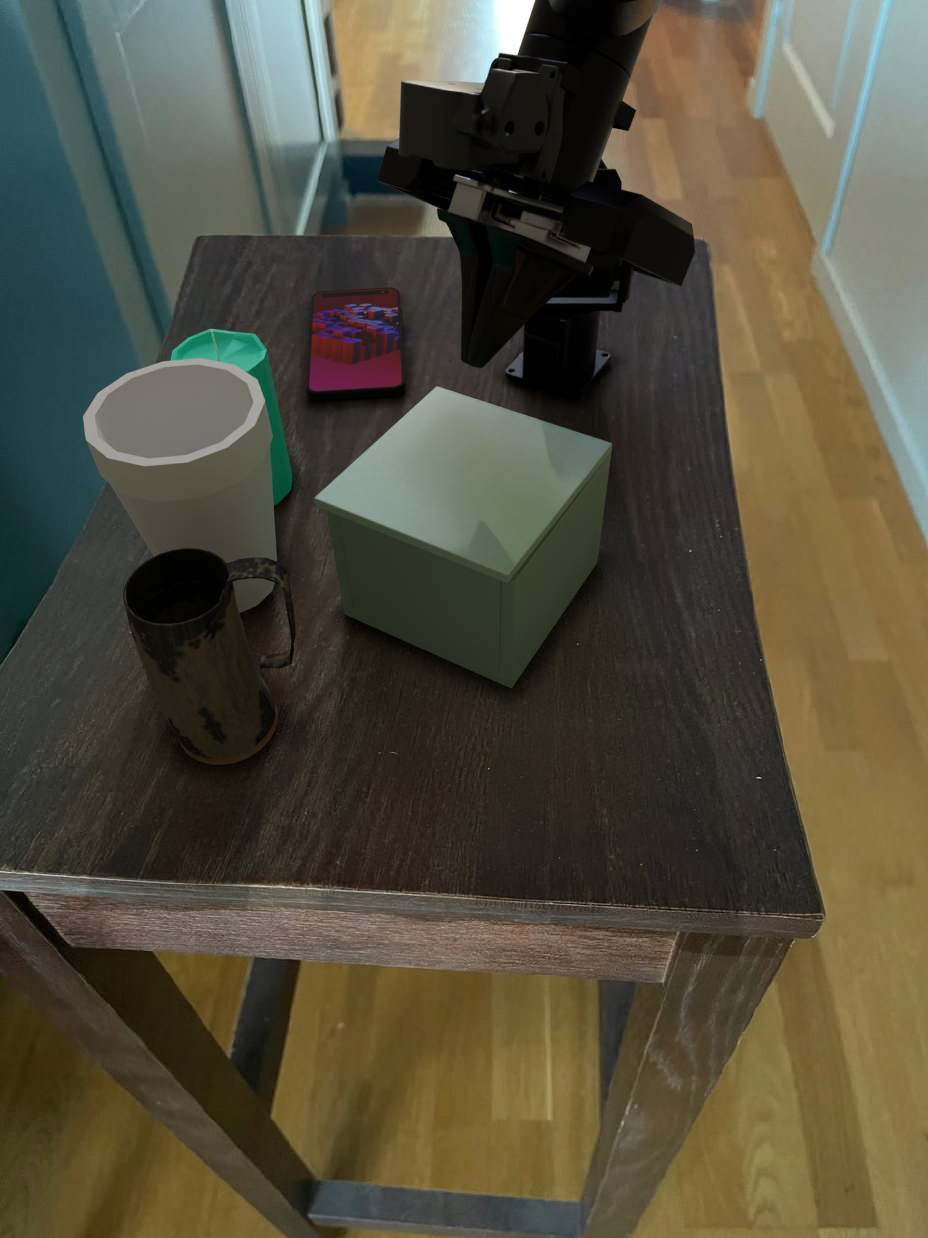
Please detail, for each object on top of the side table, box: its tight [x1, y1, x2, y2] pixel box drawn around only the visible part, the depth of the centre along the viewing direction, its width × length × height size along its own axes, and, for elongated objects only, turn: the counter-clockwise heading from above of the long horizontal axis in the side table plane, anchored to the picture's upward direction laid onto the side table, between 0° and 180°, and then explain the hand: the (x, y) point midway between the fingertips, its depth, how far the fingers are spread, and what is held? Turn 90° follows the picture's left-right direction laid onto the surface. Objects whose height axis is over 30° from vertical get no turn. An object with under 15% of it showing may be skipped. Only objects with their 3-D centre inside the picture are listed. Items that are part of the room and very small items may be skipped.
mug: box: [122, 548, 297, 766], centre depth 46 cm, size 8×6×12 cm
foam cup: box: [82, 358, 278, 614], centre depth 53 cm, size 10×9×13 cm
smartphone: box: [305, 286, 406, 401], centre depth 75 cm, size 8×1×15 cm
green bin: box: [325, 452, 612, 689], centre depth 54 cm, size 12×12×9 cm
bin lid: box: [313, 385, 613, 583], centre depth 50 cm, size 12×12×1 cm
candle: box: [169, 328, 293, 506], centre depth 60 cm, size 6×6×12 cm
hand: (471, 365), depth 51 cm, fingers closed
